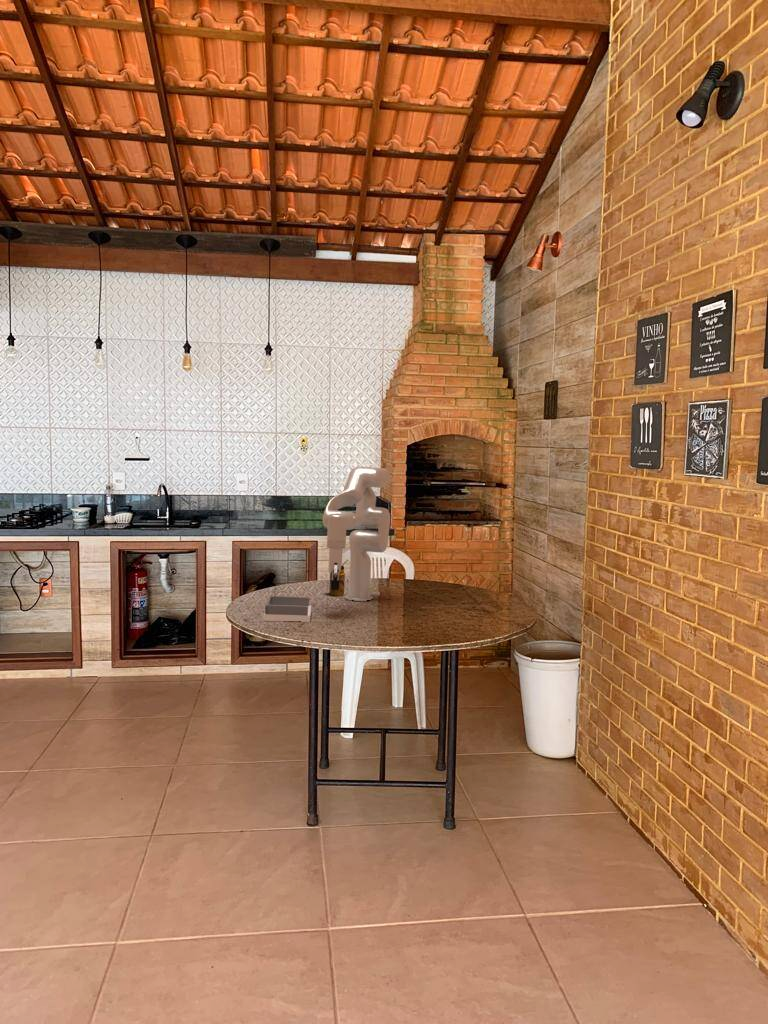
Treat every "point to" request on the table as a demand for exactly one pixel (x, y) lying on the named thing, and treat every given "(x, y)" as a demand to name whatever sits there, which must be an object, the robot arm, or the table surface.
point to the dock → (287, 609)
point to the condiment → (341, 586)
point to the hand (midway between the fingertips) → (334, 587)
